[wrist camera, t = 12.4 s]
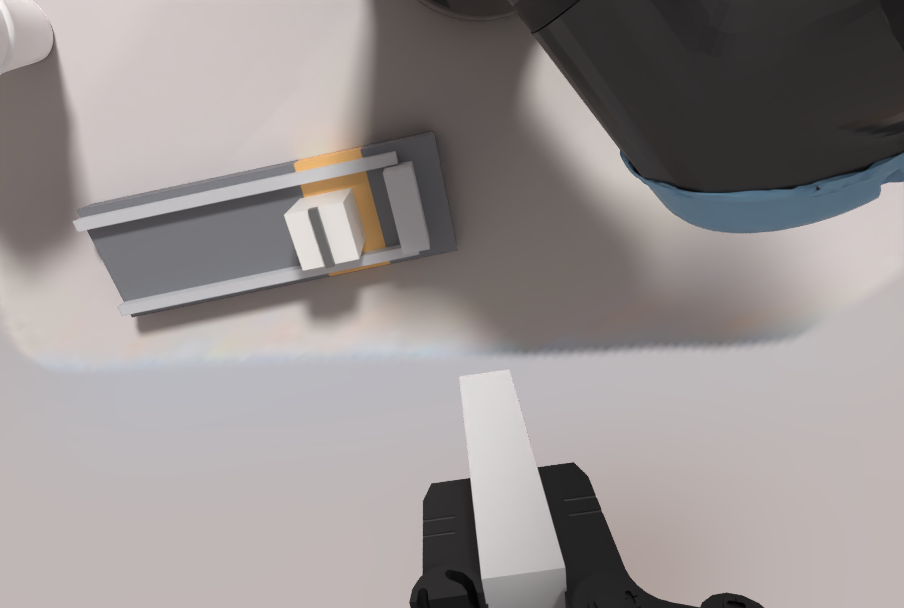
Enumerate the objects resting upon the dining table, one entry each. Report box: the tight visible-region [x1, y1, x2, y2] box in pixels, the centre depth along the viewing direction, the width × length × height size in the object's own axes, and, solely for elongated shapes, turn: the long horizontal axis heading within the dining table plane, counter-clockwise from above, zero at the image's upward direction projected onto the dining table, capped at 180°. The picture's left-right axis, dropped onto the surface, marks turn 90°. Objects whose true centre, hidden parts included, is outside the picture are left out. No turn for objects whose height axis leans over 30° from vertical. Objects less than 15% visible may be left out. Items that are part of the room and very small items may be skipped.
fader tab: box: [284, 188, 366, 271], centre depth 36 cm, size 4×4×5 cm
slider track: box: [72, 131, 458, 317], centre depth 38 cm, size 9×27×5 cm, turn 101°
